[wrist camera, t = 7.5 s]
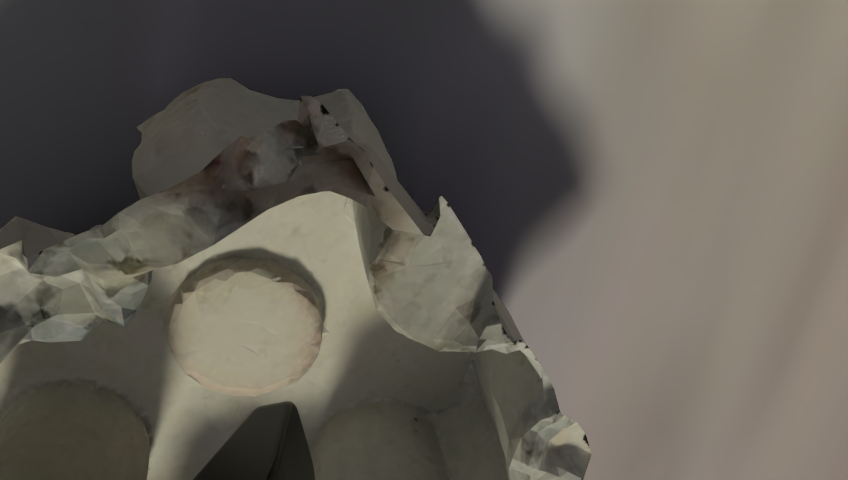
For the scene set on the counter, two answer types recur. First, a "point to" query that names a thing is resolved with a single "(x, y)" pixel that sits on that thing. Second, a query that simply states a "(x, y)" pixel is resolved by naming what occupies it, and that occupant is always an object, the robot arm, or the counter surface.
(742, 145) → the counter surface
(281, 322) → the egg carton
